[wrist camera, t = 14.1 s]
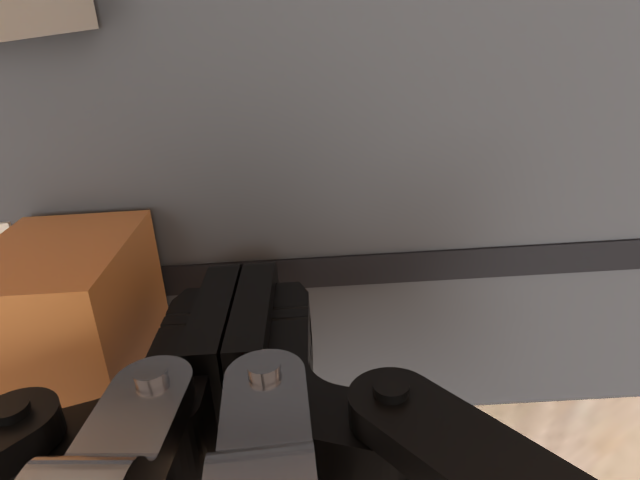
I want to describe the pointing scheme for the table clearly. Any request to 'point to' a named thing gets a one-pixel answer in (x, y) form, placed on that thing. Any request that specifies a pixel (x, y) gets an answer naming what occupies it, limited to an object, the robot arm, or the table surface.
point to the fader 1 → (45, 18)
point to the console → (366, 171)
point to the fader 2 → (77, 301)
